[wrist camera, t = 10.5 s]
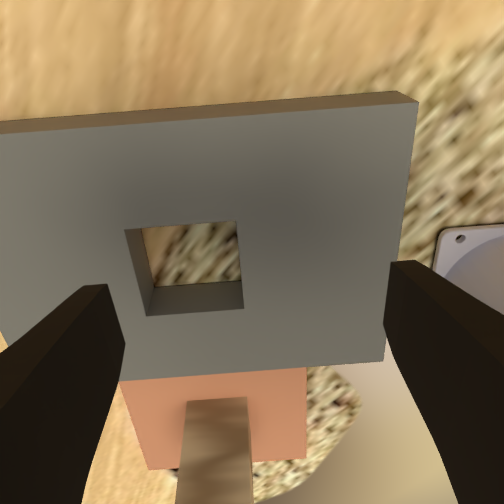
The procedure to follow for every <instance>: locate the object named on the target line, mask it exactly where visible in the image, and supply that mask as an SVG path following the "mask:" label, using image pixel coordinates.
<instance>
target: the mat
mask: <svg viewBox="0 0 504 504" xmlns="http://www.w3.org/2000/svg"><path fill="white" fill-rule="evenodd" d="M119 384H120V387H121V390H122V393H123V396H124V399H125V402H126V405H127V408H128V411H129V414H130V417H131V420H132V423H133V425H134V428H135V431H136V434H137V437H138V440H139V443H140V446H141V449H142V452H143V455H144V458H145V461H146V464H147V467H148V470H158V469H171V468H179V465H180V457H181V448H182V440H183V431H184V423H185V414H186V406H187V401H192V400H206V399H219V398H233V397H246V396H247V401H248V411H249V421H250V431H251V450H252V462H262V461H275V460H288V459H302V458H306V387H307V367H302V368H289V369H276V370H263V371H250V372H237V373H224V374H211V375H198V376H185V377H172V378H159V379H146V380H133V381H120V382H119Z"/></svg>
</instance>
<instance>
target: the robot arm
mask: <svg viewBox="0 0 504 504" xmlns="http://www.w3.org/2000/svg"><path fill="white" fill-rule="evenodd" d="M459 235H462V236H461V238H459V239H457V240H455V239H456V237H457V236H459ZM383 326H384V330H385V333H386V336H387V339H388V342H389V345H390V348H391V351H392V354H393V357H394V359H395V361H396V364H397V366H398V368H399V370H400V372H401V374H402V376H403V378H404V380H405V382H406V384H407V387H408V388H409V390H410V393H411V394H412V397H413V399H414V401H415V403H416V405H417V407H418V409H419V411H420V413H421V415H422V417H423V419H424V421H425V423H426V425H427V427H428V429H429V431H430V433H431V435H432V437H433V440H434V442H435V444H436V446H437V449H438V451H439V453H440V456H441V458H442V461H443V463H444V466H445V469H446V471H447V474H448V477H449V480H450V482H451V485H452V488H453V490H454V493H455V496H456V498H457V501H458V504H504V224H498V225H485V226H472V227H459V228H448V229H445V230H444V231H442V232H441V233H440V235H439V237H438V243H437V248H436V253H435V258H434V263H433V268H432V270H431V269H429V268H428V267H426V266H425V265H423V264H421V263H419V262H418V261H416V260H407V261H394V262H391V263H390V271H389V279H388V286H387V294H386V302H385V310H384V317H383ZM125 345H126V343H125V340H124V336H123V333H122V330H121V326H120V323H119V320H118V317H117V313H116V310H115V307H114V303H113V300H112V297H111V294H110V290H109V287H108V284H95V285H83V286H82V287H81V288H79V289H78V290H77V291H75V292H74V293H73V294H72V295H70V296H69V297H68V298H67V299H66V300H64V301H63V302H62V303H61V304H60V305H59V306H57V307H56V308H55V309H54V310H53V311H51V312H50V313H49V314H48V315H47V316H46V317H44V318H43V319H42V320H41V321H40V322H38V323H37V324H36V325H35V326H34V327H33V328H31V329H30V330H29V331H28V332H27V333H25V334H24V335H23V336H22V337H21V338H19V339H18V340H17V341H15V342H14V343H13V344H12V345H10V346H9V347H8V348H7V349H5V350H4V351H3V352H1V353H0V504H81V503H82V498H83V494H84V489H85V485H86V481H87V478H88V474H89V471H90V467H91V464H92V461H93V458H94V455H95V452H96V449H97V446H98V443H99V440H100V437H101V434H102V431H103V428H104V425H105V422H106V419H107V416H108V413H109V410H110V407H111V403H112V400H113V397H114V394H115V391H116V388H117V385H118V381H119V378H120V373H121V368H122V363H123V357H124V351H125Z"/></svg>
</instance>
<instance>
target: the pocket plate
mask: <svg viewBox="0 0 504 504" xmlns="http://www.w3.org/2000/svg"><path fill="white" fill-rule="evenodd" d="M418 106H419V102H418V101H416V100H414V99H412V98H410V97H408V96H406V95H404V94H402V93H400V92H398V91H388V92H375V93H362V94H349V95H336V96H323V97H310V98H297V99H284V100H271V101H258V102H245V103H232V104H219V105H206V106H193V107H180V108H167V109H154V110H142V111H129V112H116V113H103V114H90V115H77V116H64V117H51V118H38V119H25V120H12V121H0V331H1V333H2V335H3V337H4V339H5V341H6V343H7V345H8V347H9V346H10V345H12V344H13V343H14V342H15V341H17V340H18V339H19V338H21V337H22V336H23V335H24V334H25V333H27V332H28V331H29V330H30V329H31V328H33V327H34V326H35V325H36V324H37V323H38V322H40V321H41V320H42V319H43V318H44V317H46V316H47V315H48V314H49V313H50V312H51V311H53V310H54V309H55V308H56V307H57V306H59V305H60V304H61V303H62V302H63V301H64V300H66V299H67V298H68V297H69V296H70V295H72V294H73V293H74V292H75V291H77V290H78V289H79V288H81V287H82V286H83V285H95V284H108V287H109V290H110V294H111V297H112V300H113V303H114V307H115V310H116V313H117V317H118V320H119V323H120V326H121V330H122V333H123V336H124V340H125V343H126V345H125V351H124V357H123V363H122V368H121V373H120V378H119V381H118V382H120V381H133V380H146V379H159V378H172V377H185V376H198V375H211V374H224V373H237V372H250V371H263V370H276V369H289V368H302V367H315V366H328V365H341V364H354V363H367V362H380V361H383V359H384V352H385V344H386V337H387V336H386V333H385V330H384V326H383V317H384V310H385V302H386V294H387V286H388V279H389V271H390V263H391V262H394V261H397V258H398V250H399V243H400V236H401V229H402V221H403V214H404V207H405V200H406V193H407V185H408V178H409V171H410V164H411V156H412V149H413V142H414V135H415V127H416V120H417V113H418ZM227 221H236V226H237V237H238V247H239V258H240V268H241V278H242V281H233V282H220V283H207V284H194V285H181V286H168V287H155V288H154V284H153V280H152V275H151V271H150V267H149V262H148V258H147V254H146V250H145V245H144V241H143V237H142V232H141V228H149V227H162V226H175V225H188V224H201V223H214V222H227Z"/></svg>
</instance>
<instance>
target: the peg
mask: <svg viewBox="0 0 504 504" xmlns="http://www.w3.org/2000/svg"><path fill="white" fill-rule="evenodd" d="M175 504H254V499H253V475H252V450H251V431H250V421H249V411H248V401H247V396H246V397H233V398H219V399H206V400H192V401H187V406H186V414H185V423H184V431H183V440H182V448H181V457H180V465H179V474H178V482H177V490H176V499H175Z"/></svg>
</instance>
